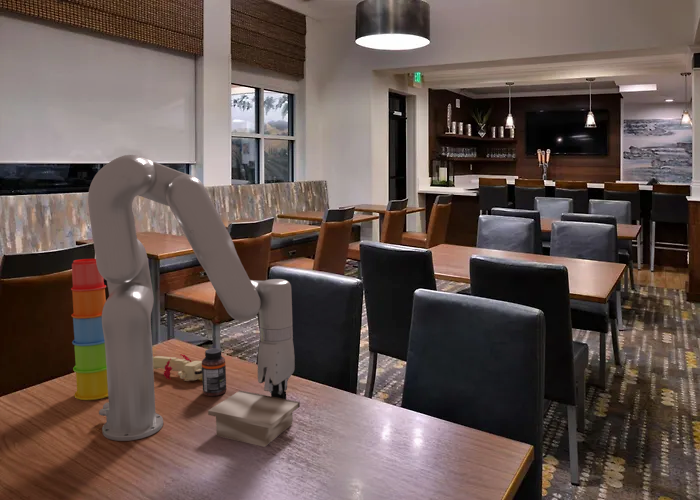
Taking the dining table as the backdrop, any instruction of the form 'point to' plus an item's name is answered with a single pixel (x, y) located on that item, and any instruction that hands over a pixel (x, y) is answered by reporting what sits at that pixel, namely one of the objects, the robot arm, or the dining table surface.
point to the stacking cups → (89, 330)
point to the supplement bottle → (213, 373)
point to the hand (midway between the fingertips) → (279, 407)
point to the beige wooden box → (253, 417)
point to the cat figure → (179, 367)
